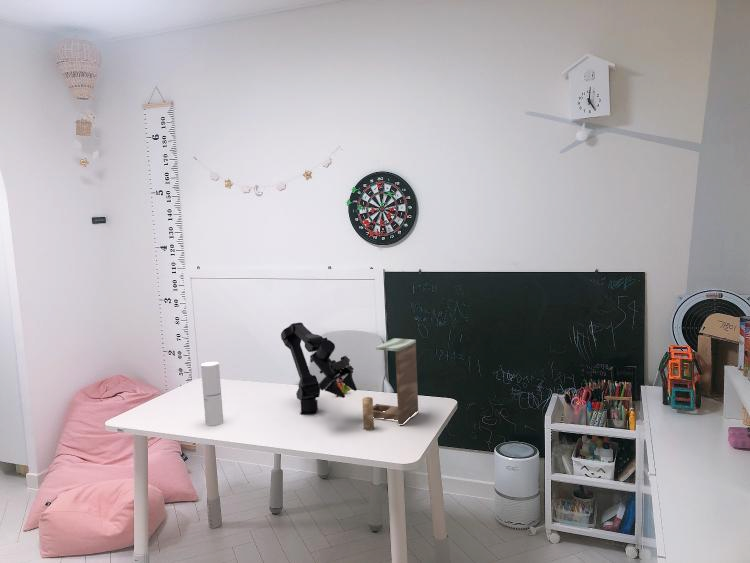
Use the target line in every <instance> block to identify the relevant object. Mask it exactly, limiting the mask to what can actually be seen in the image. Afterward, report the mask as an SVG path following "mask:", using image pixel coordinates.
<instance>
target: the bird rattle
mask: <svg viewBox="0 0 750 563" xmlns="http://www.w3.org/2000/svg"><path fill="white" fill-rule="evenodd" d="M341 381H342V380H340V379H337V385H338V386H339V388H340V389H341V391H342V392H343V393H344V394H345V393H346V394H347V393H348V392H350V391H351V388H350V387H348V386H347V385H345V384H344V383H343V382H341ZM336 397H339V396H338V395H336Z"/></svg>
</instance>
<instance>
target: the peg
mask: <svg viewBox="0 0 750 563" xmlns="http://www.w3.org/2000/svg"><path fill="white" fill-rule="evenodd" d="M373 401H374V400H373V397H371V396H370V397H369V396H367V397H366V396H365V397H363V398H362V399H361V402H362V404H361V405H362V419H363V421H362V422H363V430H364V429H366V430H365V431H371V430H370V429H373V428H375V423H374V422H375V421H374V420H375V419H374V418H373V406H374V402H373ZM373 430H374V429H373Z"/></svg>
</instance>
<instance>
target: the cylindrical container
mask: <svg viewBox="0 0 750 563" xmlns="http://www.w3.org/2000/svg"><path fill="white" fill-rule="evenodd" d="M200 369H201V382H202V395H203V396H202V397H203V406H204V407H203V408H204V419H205V425H206V426H208V427H216V426H220V425H223V423H224V413H223V412H224V409H223V400H222V398H223V396H222V386H221V385H222V384H221V372H220V371H221V370H220V362H218V361H207V362H203V363H201V364H200Z"/></svg>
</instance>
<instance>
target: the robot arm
mask: <svg viewBox="0 0 750 563" xmlns="http://www.w3.org/2000/svg"><path fill="white" fill-rule="evenodd" d="M280 338H281V341H282V343H283V344H284V346H285V347H287V348H288V349H289V350H290V353H291V355H292V360H293V362H294V364H295V368H296V371H297V375H298V377H299V381H298V389H297V391H296V398H297V400H299V401H300V410H301V411H300V415H316V413H317V411H319V410H318V409H319V405H318V399H317V398H320V394H321V391H324V392H328V393H330V394H333V395H335V396H337V395H338V396H337V397H340V398H342V399H344V398H345V397H346V394H345V393H344V392H342V391H341V389H340V388H339V386H338V385H337V379H340V380H342V381H341V382H343V383H344V385H347V386H348V388H350V390H353V391H354V392H356V391H357V386H356V384H355V381H354V379H353V373H354V370H355V369H354V367H353V366H352V365H350V361H351V360H350V358H349V357H348V356H347V355H344V356H342V357H340V360H338V361H336V360H335V359H333V360H332V359H331V358H330V357H331V356H332V355H333V352H334V351H335V349H336V345H335V343H334V342H332V341H331V340H330V339H328V337H324V338H323V336H321V335H319V334H315V333H313V332H312V331H310V330H309V329H308V328H307V327H306V326H305V325H304V323H303V322H294V323H291V324H290V325H289V326H287V327H286V328H284V329H283V330H282V331H281V333H280ZM301 342H303V343H304V348H305V350H306V351H307V352H308V353H311V355H309V358H310V363H314V364H315V366H317V368H318V369H319V373H320V374H323V375H324V377H323V379H321V381H320V382H319V381H318V378H317V376H316V375H315V374H314V375H313V374H312V373H311V372H310V369H309V366H308V362H307V360H306V357H305V355H304V351H303V348H302V346H301ZM312 352H314V353H312Z"/></svg>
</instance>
